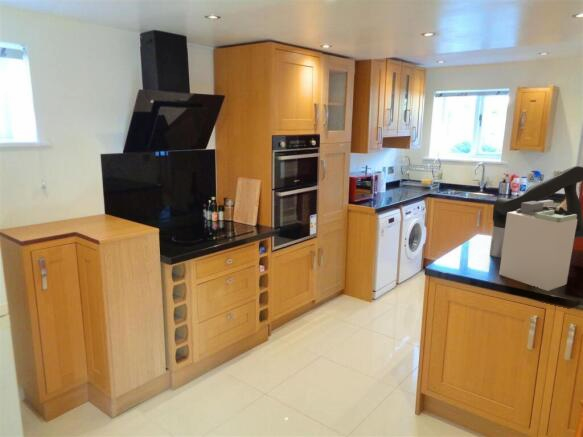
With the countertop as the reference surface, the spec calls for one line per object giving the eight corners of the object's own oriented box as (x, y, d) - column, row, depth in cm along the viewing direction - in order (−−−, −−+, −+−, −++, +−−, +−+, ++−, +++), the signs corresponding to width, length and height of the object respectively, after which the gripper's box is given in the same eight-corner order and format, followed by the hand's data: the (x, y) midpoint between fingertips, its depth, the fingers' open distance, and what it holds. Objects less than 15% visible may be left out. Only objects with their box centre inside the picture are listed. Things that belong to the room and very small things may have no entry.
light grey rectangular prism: (544, 208, 215) (545, 198, 214) (554, 210, 211) (556, 200, 210) (520, 212, 205) (521, 202, 203) (530, 214, 200) (531, 204, 199)
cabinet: (517, 268, 220) (526, 205, 213) (566, 284, 200) (578, 214, 192) (499, 274, 213) (507, 208, 205) (547, 290, 192) (559, 218, 185)
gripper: (552, 210, 228) (540, 198, 219) (581, 216, 217) (569, 202, 208) (546, 223, 228) (534, 211, 219) (575, 229, 216) (562, 216, 207)
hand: (551, 207), depth 213 cm, fingers open, 8 cm apart
